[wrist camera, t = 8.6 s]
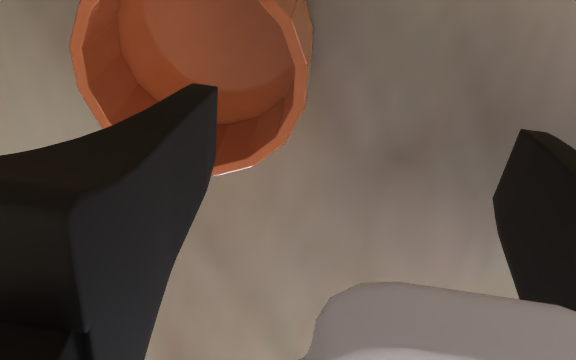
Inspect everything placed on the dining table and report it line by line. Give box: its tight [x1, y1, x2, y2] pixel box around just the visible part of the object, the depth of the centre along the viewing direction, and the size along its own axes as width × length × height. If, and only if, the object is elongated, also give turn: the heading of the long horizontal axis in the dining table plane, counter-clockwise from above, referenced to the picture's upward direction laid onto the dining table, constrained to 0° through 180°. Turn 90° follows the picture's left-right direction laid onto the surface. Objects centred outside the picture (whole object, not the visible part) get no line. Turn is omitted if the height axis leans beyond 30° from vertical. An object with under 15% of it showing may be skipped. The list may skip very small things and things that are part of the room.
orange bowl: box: [70, 0, 313, 176], centre depth 21 cm, size 8×8×4 cm
